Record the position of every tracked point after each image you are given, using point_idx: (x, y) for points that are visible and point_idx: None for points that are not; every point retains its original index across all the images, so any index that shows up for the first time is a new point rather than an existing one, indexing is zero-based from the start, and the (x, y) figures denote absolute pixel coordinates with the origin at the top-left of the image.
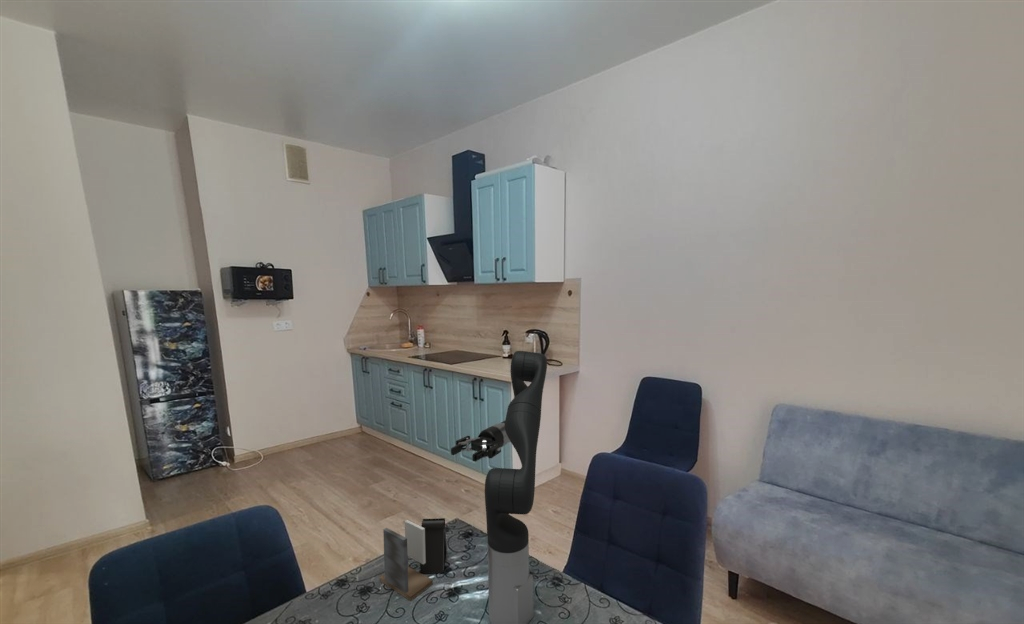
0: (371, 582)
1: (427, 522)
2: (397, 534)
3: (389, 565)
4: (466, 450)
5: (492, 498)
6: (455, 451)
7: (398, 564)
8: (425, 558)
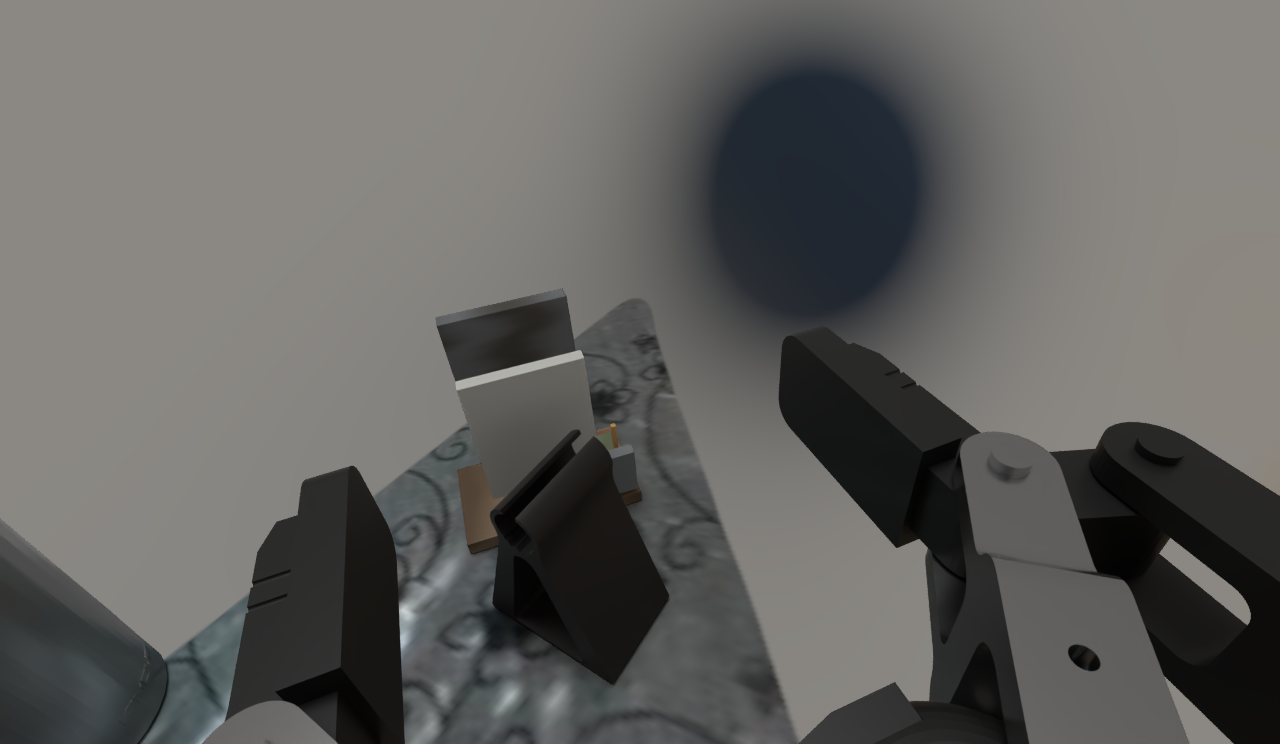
0: (623, 418)
1: (554, 448)
2: (490, 310)
3: None
4: (933, 664)
5: None
6: (811, 415)
7: None
8: (489, 486)
